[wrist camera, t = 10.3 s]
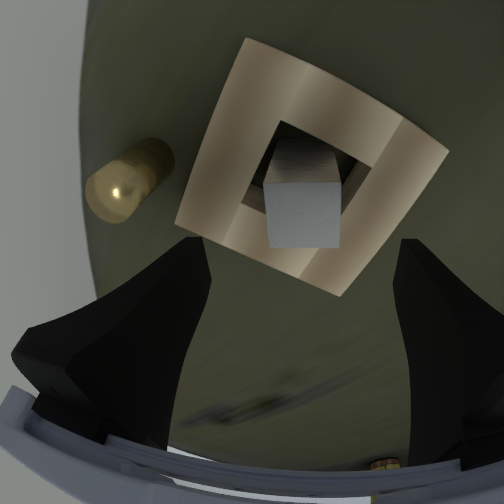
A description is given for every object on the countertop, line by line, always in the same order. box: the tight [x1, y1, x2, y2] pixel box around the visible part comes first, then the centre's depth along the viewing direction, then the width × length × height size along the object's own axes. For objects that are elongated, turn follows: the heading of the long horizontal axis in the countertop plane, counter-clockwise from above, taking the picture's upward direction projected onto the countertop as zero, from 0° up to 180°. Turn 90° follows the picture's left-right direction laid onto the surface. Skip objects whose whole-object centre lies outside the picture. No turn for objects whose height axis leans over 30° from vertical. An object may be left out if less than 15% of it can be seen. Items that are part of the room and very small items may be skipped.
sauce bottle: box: [371, 458, 400, 504], centre depth 41 cm, size 6×6×20 cm
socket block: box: [174, 38, 449, 297], centre depth 18 cm, size 12×12×3 cm
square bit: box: [263, 139, 341, 248], centre depth 16 cm, size 3×3×7 cm
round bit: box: [85, 138, 174, 224], centre depth 18 cm, size 3×3×6 cm
